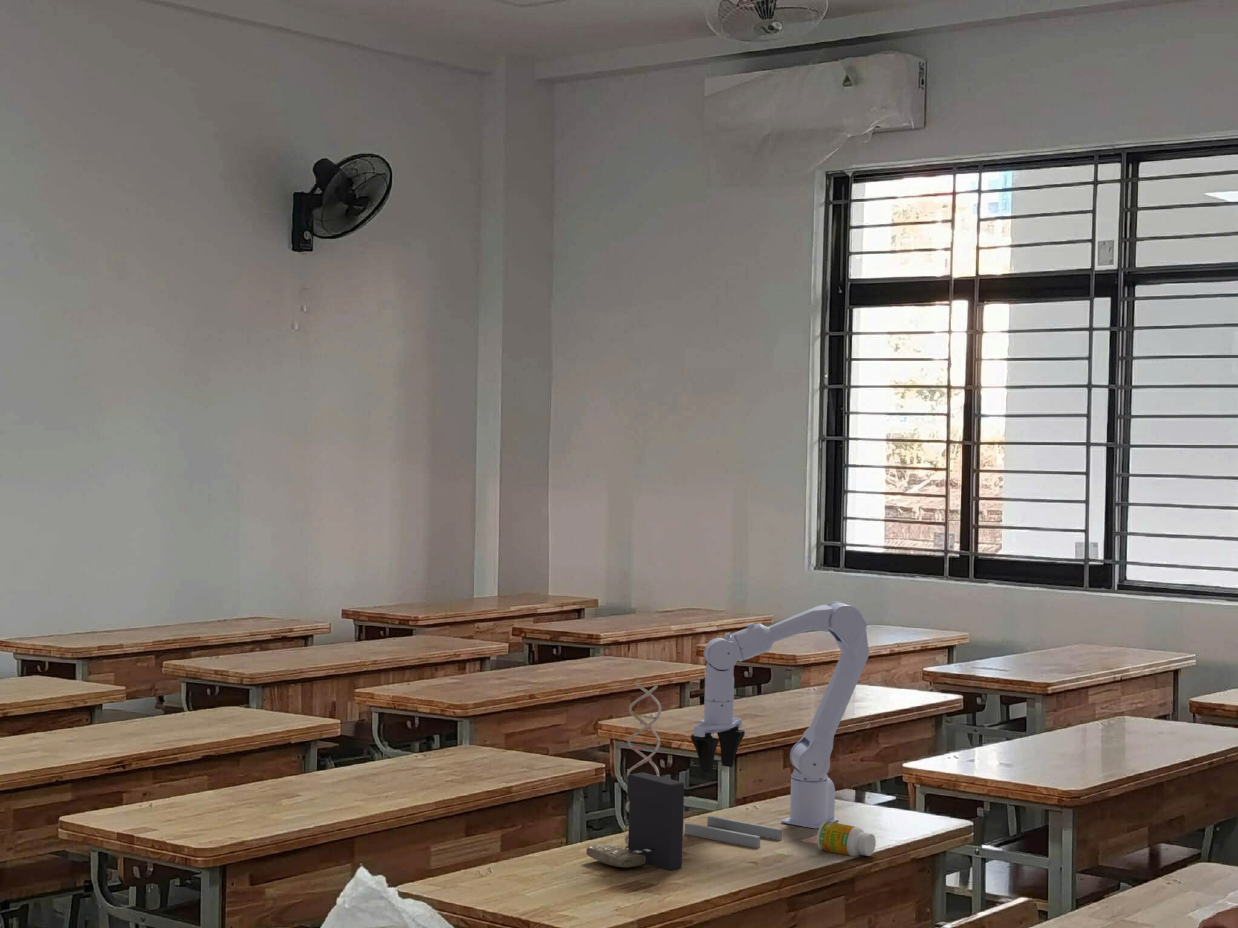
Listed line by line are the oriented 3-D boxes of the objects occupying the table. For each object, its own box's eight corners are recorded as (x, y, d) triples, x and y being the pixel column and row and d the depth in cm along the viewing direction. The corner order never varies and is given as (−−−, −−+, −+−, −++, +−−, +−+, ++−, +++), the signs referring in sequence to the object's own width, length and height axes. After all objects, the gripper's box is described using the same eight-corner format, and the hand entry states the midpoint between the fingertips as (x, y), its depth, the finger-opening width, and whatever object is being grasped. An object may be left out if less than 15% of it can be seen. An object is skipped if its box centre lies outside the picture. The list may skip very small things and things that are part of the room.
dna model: (665, 848, 283) (670, 683, 283) (642, 854, 279) (647, 687, 279) (638, 841, 288) (643, 679, 288) (615, 847, 283) (620, 682, 283)
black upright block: (685, 867, 270) (687, 781, 270) (667, 871, 267) (669, 784, 267) (642, 854, 278) (645, 771, 278) (624, 858, 276) (627, 773, 275)
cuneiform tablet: (631, 852, 264) (586, 838, 273) (630, 875, 264) (584, 859, 273) (656, 849, 268) (610, 834, 277) (655, 871, 268) (609, 856, 277)
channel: (710, 825, 302) (710, 815, 302) (781, 839, 293) (782, 828, 293) (684, 833, 295) (684, 823, 295) (757, 848, 286) (757, 837, 286)
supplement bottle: (815, 824, 283) (862, 833, 277) (831, 817, 287) (877, 826, 281) (816, 853, 284) (863, 863, 278) (831, 845, 288) (878, 855, 282)
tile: (827, 832, 299) (827, 830, 299) (874, 841, 293) (874, 839, 293) (801, 842, 291) (801, 840, 291) (849, 851, 285) (849, 849, 285)
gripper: (721, 693, 314) (719, 760, 314) (681, 701, 302) (679, 771, 302) (751, 697, 310) (749, 765, 310) (712, 705, 298) (710, 776, 298)
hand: (717, 768), depth 306 cm, fingers open, 7 cm apart
